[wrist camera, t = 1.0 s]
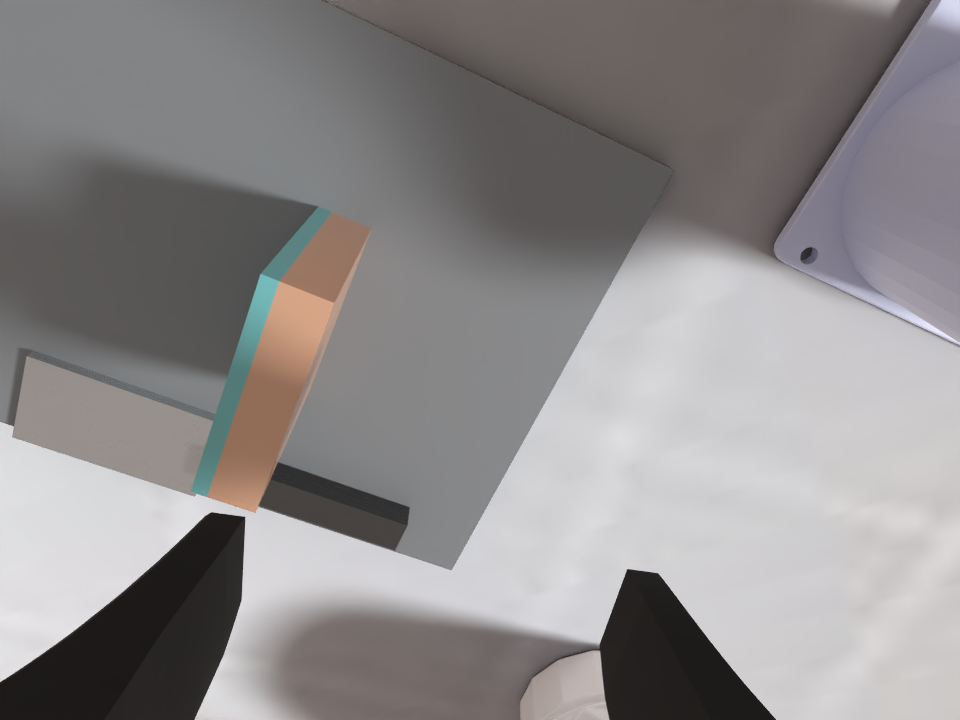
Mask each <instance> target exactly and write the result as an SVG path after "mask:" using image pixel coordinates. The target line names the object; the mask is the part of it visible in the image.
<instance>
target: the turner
mask: <svg viewBox="0 0 960 720" xmlns="http://www.w3.org/2000/svg"><path fill="white" fill-rule="evenodd" d="M214 417H215V414H214V413H211V412H208V411H205V410H202V409H199V408H197V407H194V406H191V405H188V404H185V403H182V402H179V401H177V400H174V399H171V398H168V397H165V396H162V395H159V394H157V393H154V392H151V391H148V390H145V389H142V388H140V387H137V386H134V385H131V384H128V383H125V382H122V381H120V380H117V379H114V378H111V377H108V376H105V375H103V374H100V373H97V372H94V371H91V370H88V369H85V368H83V367H80V366H77V365H74V364H71V363H68V362H65V361H63V360H60V359H57V358H54V357H51V356H48V355H46V354H43V353H40V352H37V351H33V352H31V353H30V354H29V355H27V357H26V362H25V368H24V374H23V379H22V385H21V391H20V396H19V402H18V408H17V413H16V419H15V425H14V430H13V436H12V437H13V438H17V439H20V440H23V441H26V442H29V443H32V444H35V445H38V446H41V447H44V448H47V449H50V450H53V451H56V452H59V453H63V454H66V455H69V456H72V457H75V458H78V459H81V460H84V461H87V462H90V463H93V464H96V465H99V466H102V467H106V468H109V469H112V470H115V471H118V472H121V473H124V474H127V475H130V476H133V477H136V478H139V479H142V480H145V481H148V482H152V483H155V484H158V485H161V486H164V487H167V488H170V489H173V490H176V491H179V492H182V493H185V494H188V495H191V496H196V494H197V493H193V492H191V489H192V486H193V483H194V480H195V476H196V473H197V470H198V467H199V464H200V461H201V458H202V455H203V452H204V448H205V445H206V442H207V439H208V436H209V433H210V430H211V427H212V424H213V420H214ZM259 506H260V507H263V508H266V509H269V510H272V511H276V512H279V513H282V514H285V515H288V516H291V517H294V518H297V519H300V520H303V521H306V522H309V523H312V524H315V525H318V526H321V527H324V528H327V529H330V530H333V531H336V532H339V533H342V534H345V535H348V536H351V537H354V538H358V539H361V540H364V541H367V542H370V543H373V544H376V545H379V546H382V547H385V548H388V549H391V550H394V551H395V550H396V548H397V546H398V544H399V542H400V540H401V538H402V536H403V534H404V532H405V530H406V528H407V526H408V518H409V510H410V507H408V506H405V505H402V504H399V503H396V502H393V501H390V500H387V499H384V498H381V497H379V496H376V495H373V494H370V493H367V492H364V491H361V490H358V489H355V488H352V487H349V486H346V485H344V484H341V483H338V482H335V481H332V480H329V479H326V478H323V477H320V476H317V475H314V474H312V473H309V472H306V471H303V470H300V469H297V468H294V467H291V466H288V465H285V464H282V463H280V462H278V463H277V465H276V468H275V470H274V472H273V474H272V477H271V479H270V481H269V483H268V486H267V488H266V490H265V492H264V495H263V497H262V499H261V501H260V504H259Z"/></svg>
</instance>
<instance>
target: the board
mask: <svg viewBox="0 0 960 720" xmlns="http://www.w3.org/2000/svg"><path fill="white" fill-rule="evenodd" d="M673 172H674V170H672V169H671V168H669V167H668V166H666V165H663V164H661V163H659V162H657V161H655V160H653V159H651V158H649V157H647V156H645V155H643V154H641V153H639V152H637V151H634V150H632V149H630V148H628V147H626V146H624V145H622V144H620V143H618V142H616V141H614V140H612V139H610V138H608V137H605V136H603V135H601V134H599V133H597V132H595V131H593V130H591V129H589V128H587V127H585V126H583V125H581V124H579V123H576V122H574V121H572V120H570V119H568V118H566V117H564V116H562V115H560V114H558V113H556V112H554V111H552V110H550V109H547V108H545V107H543V106H541V105H539V104H537V103H535V102H533V101H531V100H529V99H527V98H525V97H523V96H521V95H518V94H516V93H514V92H512V91H510V90H508V89H506V88H504V87H502V86H500V85H498V84H496V83H494V82H492V81H490V80H487V79H485V78H483V77H481V76H479V75H477V74H475V73H473V72H471V71H469V70H467V69H465V68H463V67H461V66H458V65H456V64H454V63H452V62H450V61H448V60H446V59H444V58H442V57H440V56H438V55H436V54H434V53H432V52H429V51H427V50H425V49H423V48H421V47H419V46H417V45H415V44H413V43H411V42H409V41H407V40H405V39H403V38H400V37H398V36H396V35H394V34H392V33H390V32H388V31H386V30H384V29H382V28H380V27H378V26H376V25H374V24H371V23H369V22H367V21H365V20H363V19H361V18H359V17H357V16H355V15H353V14H351V13H349V12H347V11H345V10H342V9H340V8H338V7H336V6H334V5H332V4H330V3H328V2H326V1H324V0H0V422H3V423H6V424H9V425H12V426H14V425H15V419H16V413H17V408H18V402H19V396H20V391H21V385H22V379H23V374H24V368H25V362H26V357H27V355H29V354H30V353H31V352H33V351H37V352H40V353H43V354H46V355H48V356H51V357H54V358H57V359H60V360H63V361H65V362H68V363H71V364H74V365H77V366H80V367H83V368H85V369H88V370H91V371H94V372H97V373H100V374H103V375H105V376H108V377H111V378H114V379H117V380H120V381H122V382H125V383H128V384H131V385H134V386H137V387H140V388H142V389H145V390H148V391H151V392H154V393H157V394H159V395H162V396H165V397H168V398H171V399H174V400H177V401H179V402H182V403H185V404H188V405H191V406H194V407H197V408H199V409H202V410H205V411H208V412H211V413H214V414H216V411H217V408H218V405H219V402H220V399H221V396H222V392H223V389H224V386H225V383H226V380H227V377H228V374H229V371H230V368H231V364H232V361H233V358H234V355H235V352H236V349H237V346H238V343H239V340H240V336H241V333H242V330H243V327H244V324H245V321H246V318H247V315H248V312H249V308H250V305H251V302H252V299H253V296H254V293H255V290H256V287H257V284H258V280H259V277H260V274H261V273H262V272H263V271H264V269H265V268H266V267H267V266H268V265H269V264H270V262H271V261H272V260H273V259H274V258H275V257H276V255H277V254H278V253H279V252H280V251H281V250H282V249H283V247H284V246H285V245H286V244H287V243H288V242H289V240H290V239H291V238H292V237H293V236H294V235H295V233H296V232H297V231H298V230H299V229H300V228H301V226H302V225H303V224H304V223H305V222H306V221H307V219H308V218H309V217H310V216H311V215H312V214H313V213H314V211H315V210H316V209H317V208H318V207H321V208H323V209H326V210H328V211H331V212H333V213H335V214H338V215H340V216H342V217H345V218H347V219H350V220H352V221H354V222H357V223H359V224H361V225H364V226H366V227H368V228H371V231H370V234H369V237H368V239H367V242H366V244H365V247H364V250H363V252H362V255H361V257H360V260H359V263H358V265H357V268H356V270H355V273H354V276H353V278H352V281H351V284H350V286H349V289H348V291H347V294H346V297H345V299H344V302H343V304H342V307H341V310H340V312H339V315H338V317H337V320H336V323H335V325H334V328H333V330H332V333H331V336H330V338H329V341H328V344H327V346H326V349H325V351H324V354H323V357H322V359H321V362H320V364H319V367H318V370H317V372H316V375H315V377H314V380H313V383H312V385H311V388H310V390H309V393H308V396H307V398H306V400H305V402H304V405H303V407H302V409H301V411H300V414H299V416H298V418H297V420H296V423H295V425H294V427H293V429H292V432H291V434H290V436H289V438H288V441H287V443H286V445H285V447H284V450H283V452H282V454H281V456H280V459H279V461H278V462H280V463H282V464H285V465H288V466H291V467H294V468H297V469H300V470H303V471H306V472H309V473H312V474H314V475H317V476H320V477H323V478H326V479H329V480H332V481H335V482H338V483H341V484H344V485H346V486H349V487H352V488H355V489H358V490H361V491H364V492H367V493H370V494H373V495H376V496H379V497H381V498H384V499H387V500H390V501H393V502H396V503H399V504H402V505H405V506H408V507H410V510H409V518H408V526H407V528H406V530H405V532H404V534H403V536H402V538H401V540H400V542H399V544H398V546H397V548H396V550H395V552H398V553H401V554H404V555H407V556H410V557H413V558H416V559H419V560H422V561H425V562H428V563H431V564H434V565H437V566H440V567H443V568H446V569H449V570H452V568H453V567H454V565H455V563H456V561H457V560H458V558H459V556H460V554H461V552H462V551H463V549H464V547H465V545H466V543H467V542H468V540H469V538H470V536H471V534H472V533H473V531H474V529H475V527H476V525H477V524H478V522H479V520H480V518H481V516H482V515H483V513H484V511H485V509H486V507H487V506H488V504H489V502H490V500H491V498H492V497H493V495H494V493H495V491H496V489H497V488H498V486H499V484H500V482H501V480H502V479H503V477H504V475H505V473H506V472H507V470H508V468H509V466H510V464H511V463H512V461H513V459H514V457H515V455H516V454H517V452H518V450H519V448H520V446H521V445H522V443H523V441H524V439H525V437H526V436H527V434H528V432H529V430H530V428H531V427H532V425H533V423H534V421H535V419H536V418H537V416H538V414H539V412H540V410H541V409H542V407H543V405H544V403H545V401H546V400H547V398H548V396H549V394H550V393H551V391H552V389H553V387H554V385H555V384H556V382H557V380H558V378H559V376H560V375H561V373H562V371H563V369H564V367H565V366H566V364H567V362H568V360H569V358H570V357H571V355H572V353H573V351H574V349H575V348H576V346H577V344H578V342H579V340H580V339H581V337H582V335H583V333H584V331H585V330H586V328H587V326H588V324H589V322H590V321H591V319H592V317H593V315H594V313H595V312H596V310H597V308H598V306H599V305H600V303H601V301H602V299H603V297H604V296H605V294H606V292H607V290H608V288H609V287H610V285H611V283H612V281H613V279H614V278H615V276H616V274H617V272H618V270H619V269H620V267H621V265H622V263H623V261H624V260H625V258H626V256H627V254H628V252H629V251H630V249H631V247H632V245H633V243H634V242H635V240H636V238H637V236H638V234H639V233H640V231H641V229H642V227H643V226H644V224H645V222H646V220H647V218H648V217H649V215H650V213H651V211H652V209H653V208H654V206H655V204H656V202H657V200H658V199H659V197H660V195H661V193H662V191H663V190H664V188H665V186H666V184H667V182H668V181H669V179H670V177H671V175H672V173H673ZM258 507H260V506H258ZM261 508H263V507H261ZM264 509H266V508H264ZM267 510H269V509H267ZM270 511H272V510H270ZM273 512H276V511H273ZM276 513H279V512H276ZM279 514H282V513H279ZM282 515H285V514H282ZM285 516H288V515H285ZM288 517H291V516H288ZM291 518H294V517H291ZM294 519H297V518H294ZM297 520H300V519H297ZM300 521H303V520H300ZM304 522H306V521H304ZM307 523H309V522H307ZM310 524H312V523H310ZM313 525H315V524H313ZM316 526H318V525H316ZM319 527H321V526H319ZM322 528H324V527H322ZM325 529H327V528H325ZM328 530H330V529H328ZM331 531H333V530H331ZM334 532H336V531H334ZM337 533H339V532H337ZM340 534H342V533H340ZM343 535H345V534H343ZM346 536H348V535H346ZM349 537H351V536H349ZM352 538H354V537H352ZM355 539H358V538H355ZM358 540H361V539H358ZM361 541H364V540H361ZM364 542H367V541H364ZM367 543H370V542H367ZM370 544H373V543H370ZM373 545H376V544H373ZM376 546H379V545H376ZM380 547H382V546H380ZM383 548H385V547H383ZM386 549H388V548H386ZM389 550H391V549H389ZM392 551H394V550H392Z"/></svg>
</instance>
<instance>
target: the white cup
mask: <svg viewBox="0 0 960 720" xmlns="http://www.w3.org/2000/svg"><path fill="white" fill-rule="evenodd" d="M520 720H609V716H608V711H607V706H606V701H605V695H604V686H603V677H602V667H601V656H600V651H595V650H593V651H588V652H585V653H581V654H577V655H573V656H569V657H566V658H562V659H559V660H557V661H556V662H554V663H553V664H552V665H550V666H549V667H547V668H546V669H544V670H543V671H542V672H540V673H539V674H537V675H536V676H535V677H533V678H532V680H531V682H530V684H529V686H528V688H527V690H526V692H525V694H524V695H523V697H522V699H521V701H520Z"/></svg>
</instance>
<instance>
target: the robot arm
mask: <svg viewBox="0 0 960 720" xmlns="http://www.w3.org/2000/svg"><path fill="white" fill-rule="evenodd" d="M809 247H812V253H811V255H810V256H809V257H808V258H807V259H805V260H801V259H800V256H801V253H802V252H803V251H804V250H805V249H806V248H809ZM774 253H775V255H776V257H777V258H778V259H779V260H781V261H782V262H783V263H785V264H787V265H789V266H791V267H793V268H795V269H798V270H800V271H802V272H804V273H806V274H808V275H810V276H812V277H815V278H817V279H819V280H821V281H823V282H825V283H827V284H830V285H832V286H834V287H836V288H838V289H840V290H842V291H844V292H847V293H849V294H851V295H853V296H855V297H857V298H859V299H862V300H864V301H866V302H868V303H870V304H872V305H874V306H876V307H879V308H881V309H883V310H885V311H887V312H889V313H891V314H893V315H896V316H898V317H900V318H902V319H904V320H906V321H908V322H911V323H913V324H915V325H917V326H919V327H921V328H923V329H925V330H928V331H930V332H932V333H934V334H936V335H938V336H940V337H942V338H945V339H947V340H949V341H951V342H953V343H955V344H957V345H960V0H931V2H930V3H929V5H928V6H927V8H926V10H925V11H924V13H923V14H922V16H921V17H920V19H919V20H918V22H917V23H916V25H915V27H914V28H913V30H912V31H911V33H910V34H909V36H908V37H907V39H906V40H905V42H904V43H903V45H902V47H901V48H900V50H899V51H898V53H897V54H896V56H895V57H894V59H893V60H892V62H891V64H890V65H889V67H888V68H887V70H886V71H885V73H884V74H883V76H882V77H881V79H880V81H879V82H878V84H877V85H876V87H875V88H874V90H873V91H872V93H871V94H870V96H869V98H868V99H867V101H866V102H865V104H864V105H863V107H862V108H861V110H860V111H859V113H858V114H857V116H856V118H855V119H854V121H853V122H852V124H851V125H850V127H849V128H848V130H847V131H846V133H845V135H844V136H843V138H842V139H841V141H840V142H839V144H838V145H837V147H836V148H835V150H834V152H833V153H832V155H831V156H830V158H829V159H828V161H827V162H826V164H825V165H824V167H823V169H822V170H821V172H820V173H819V175H818V176H817V178H816V179H815V181H814V182H813V184H812V185H811V187H810V189H809V190H808V192H807V193H806V195H805V196H804V198H803V199H802V201H801V202H800V204H799V206H798V207H797V209H796V210H795V212H794V213H793V215H792V216H791V218H790V219H789V221H788V223H787V224H786V226H785V227H784V229H783V230H782V232H781V233H780V235H779V236H778V238H777V240H776V242H775V244H774ZM244 534H245V517H241V516H234V515H227V514H219V513H212V512H211V513H210V514H208V515H206V516H205V517H204V518H203V519H202V520H201V521H200V522H199V523H198V524H197V525H196V526H195V527H194V528H193V529H192V530H191V531H190V532H189V533H188V534H187V535H185V536H184V537H183V538H182V539H181V540H180V541H179V542H178V543H177V544H176V545H175V546H174V547H173V548H172V549H171V550H170V551H169V552H168V553H166V554H165V555H164V556H163V557H162V558H161V559H160V560H159V561H158V562H157V563H156V564H154V565H153V566H152V567H151V568H150V569H149V570H148V571H146V572H145V573H144V574H143V575H142V576H141V577H140V578H138V579H137V580H136V581H135V582H134V583H133V584H132V585H130V586H129V587H128V588H127V589H126V590H125V591H124V592H122V593H121V594H120V595H119V596H118V597H116V598H115V599H114V600H113V601H111V602H110V603H109V604H108V605H106V606H105V607H104V608H103V609H101V610H100V611H99V612H98V613H96V614H95V615H94V616H93V617H91V618H90V619H89V620H88V621H86V622H85V623H84V624H82V625H81V626H80V627H79V628H77V629H76V630H75V631H73V632H72V633H71V634H69V635H68V636H67V637H65V638H64V639H63V640H61V641H60V642H59V643H57V644H56V645H54V646H53V647H52V648H50V649H49V650H47V651H46V652H45V653H43V654H42V655H40V656H39V657H37V658H36V659H34V660H33V661H32V662H30V663H29V664H27V665H26V666H24V667H23V668H21V669H20V670H18V671H17V672H15V673H14V674H12V675H11V676H9V677H8V678H6V679H5V680H3V681H1V682H0V720H194V719H195V717H196V715H197V712H198V710H199V708H200V706H201V704H202V701H203V699H204V697H205V695H206V693H207V690H208V688H209V686H210V684H211V682H212V679H213V677H214V675H215V673H216V671H217V668H218V666H219V664H220V662H221V659H222V657H223V655H224V652H225V649H226V646H227V643H228V640H229V637H230V634H231V631H232V628H233V625H234V622H235V619H236V616H237V613H238V609H239V606H240V603H241V598H242V577H243V556H244ZM600 656H601V667H602V677H603V686H604V695H605V701H606V706H607V711H608V716H609V720H776V719H775V718H774V717H773V716H772V715H771V713H770V712H769V711H768V710H767V709H766V708H765V707H764V705H763V704H762V703H761V702H760V701H759V700H758V699H757V698H756V696H755V695H754V694H753V693H752V692H751V691H750V690H749V688H748V687H747V686H746V685H745V684H744V683H743V681H742V680H741V679H740V678H739V677H738V675H737V674H736V673H735V672H734V671H733V669H732V668H731V667H730V666H729V664H728V663H727V662H726V661H725V660H724V658H723V657H722V656H721V655H720V653H719V652H718V651H717V649H716V648H715V647H714V646H713V644H712V643H711V642H710V641H709V639H708V638H707V637H706V635H705V634H704V633H703V632H702V630H701V629H700V628H699V626H698V625H697V624H696V622H695V621H694V620H693V618H692V617H691V616H690V615H689V613H688V612H687V611H686V609H685V608H684V607H683V605H682V604H681V603H680V601H679V600H678V599H677V597H676V596H675V595H674V593H673V592H672V591H671V589H670V588H669V587H668V585H667V584H666V583H665V581H664V580H663V579H662V578H661V576H660V575H659V574H658V573H652V572H644V571H637V570H630V569H627V572H626V574H625V577H624V580H623V583H622V585H621V588H620V591H619V594H618V596H617V599H616V602H615V604H614V607H613V610H612V613H611V615H610V618H609V621H608V624H607V626H606V629H605V632H604V634H603V637H602V640H601V643H600Z"/></svg>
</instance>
